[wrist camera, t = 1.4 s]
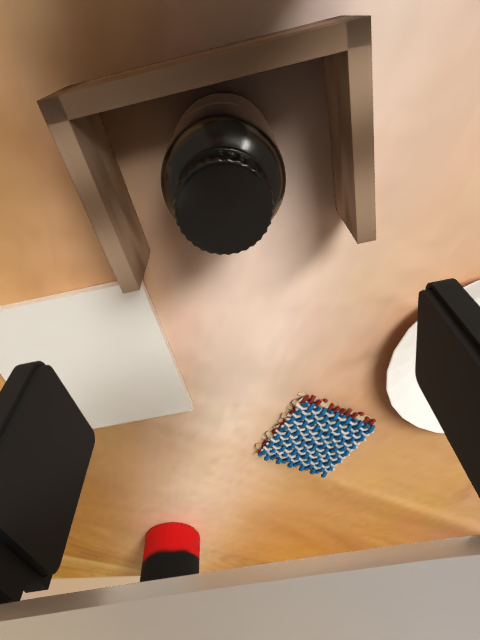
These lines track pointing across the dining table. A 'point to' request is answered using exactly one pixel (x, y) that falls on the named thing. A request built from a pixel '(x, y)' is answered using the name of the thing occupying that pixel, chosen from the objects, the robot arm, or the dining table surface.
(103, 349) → the white square board
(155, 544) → the soda can
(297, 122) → the dining table surface
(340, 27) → the shelf bay
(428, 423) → the plate
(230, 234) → the supplement bottle
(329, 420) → the woven mat
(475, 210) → the dining table surface
